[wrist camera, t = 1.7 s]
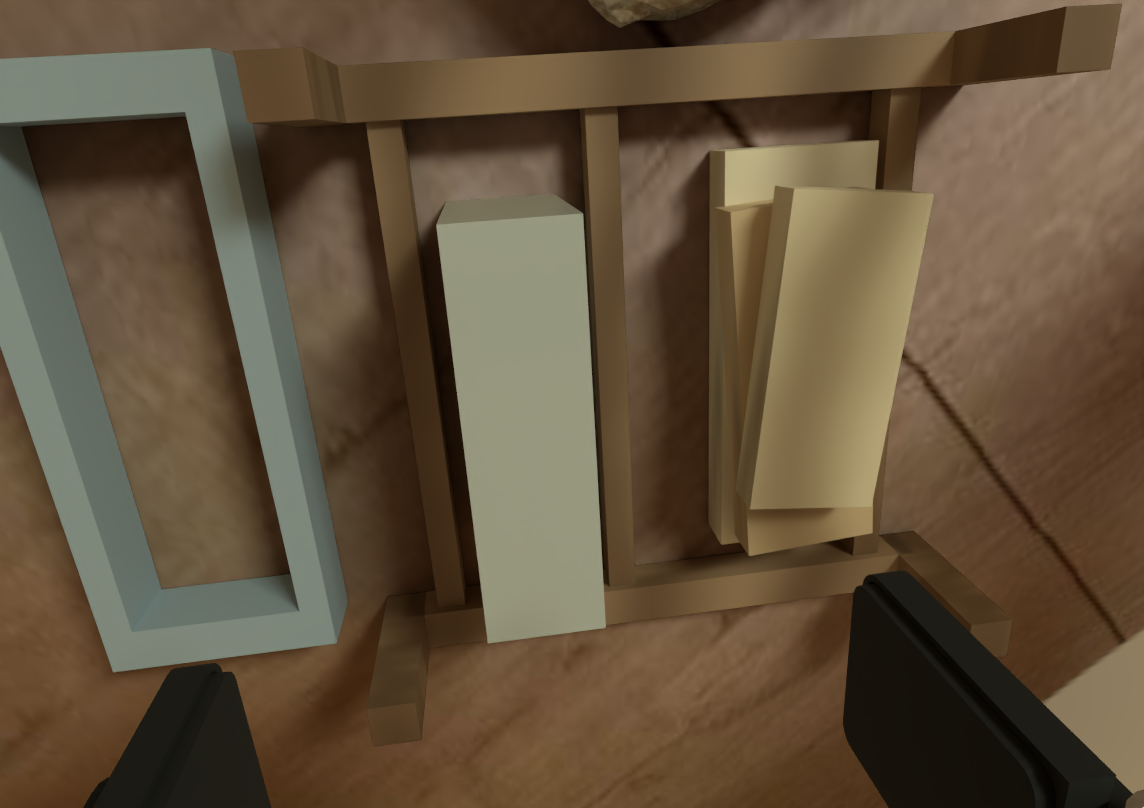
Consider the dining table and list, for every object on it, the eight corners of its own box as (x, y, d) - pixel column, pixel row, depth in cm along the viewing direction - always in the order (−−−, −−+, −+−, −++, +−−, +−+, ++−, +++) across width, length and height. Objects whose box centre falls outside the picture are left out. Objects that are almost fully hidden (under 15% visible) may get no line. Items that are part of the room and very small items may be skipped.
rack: (970, 35, 24) (1122, 3, 18) (910, 562, 31) (1006, 656, 25) (294, 73, 22) (233, 51, 16) (393, 628, 29) (373, 746, 23)
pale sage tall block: (553, 193, 24) (582, 213, 18) (575, 515, 28) (605, 627, 22) (446, 201, 24) (436, 224, 17) (484, 525, 28) (488, 643, 21)
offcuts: (860, 139, 25) (939, 140, 20) (834, 508, 29) (893, 570, 25) (700, 151, 24) (748, 153, 20) (700, 524, 29) (739, 590, 25)
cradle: (239, 57, 22) (210, 47, 19) (348, 601, 28) (336, 643, 26) (-34, 72, 21) (-98, 64, 18) (143, 626, 27) (113, 672, 25)
